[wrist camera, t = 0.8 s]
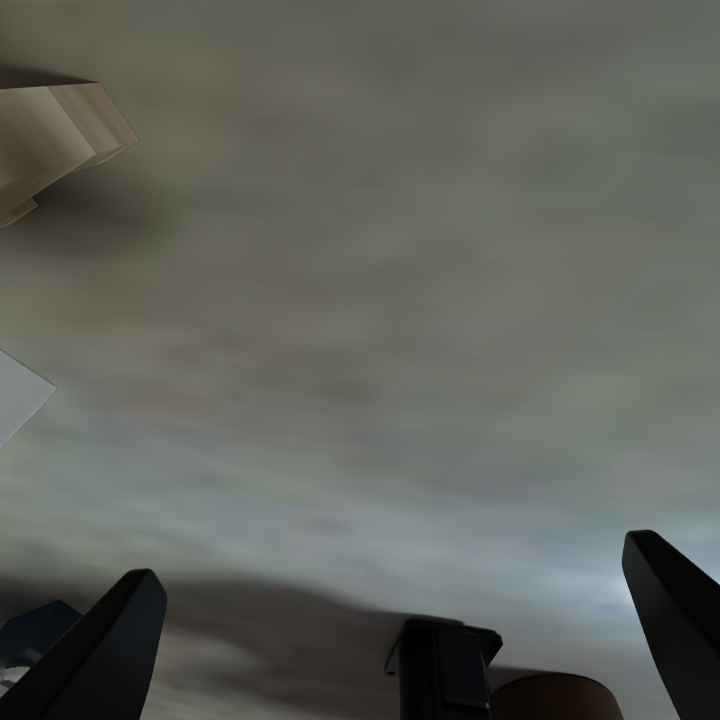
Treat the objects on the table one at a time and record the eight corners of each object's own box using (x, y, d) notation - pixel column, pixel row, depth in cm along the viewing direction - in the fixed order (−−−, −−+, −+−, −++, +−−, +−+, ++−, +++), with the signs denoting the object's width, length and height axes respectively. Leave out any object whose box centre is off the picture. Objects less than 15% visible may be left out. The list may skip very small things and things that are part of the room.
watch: (75, 664, 36) (-31, 873, 27) (-16, 608, 33) (-174, 824, 24) (129, 646, 35) (35, 861, 25) (39, 584, 31) (-109, 807, 22)
